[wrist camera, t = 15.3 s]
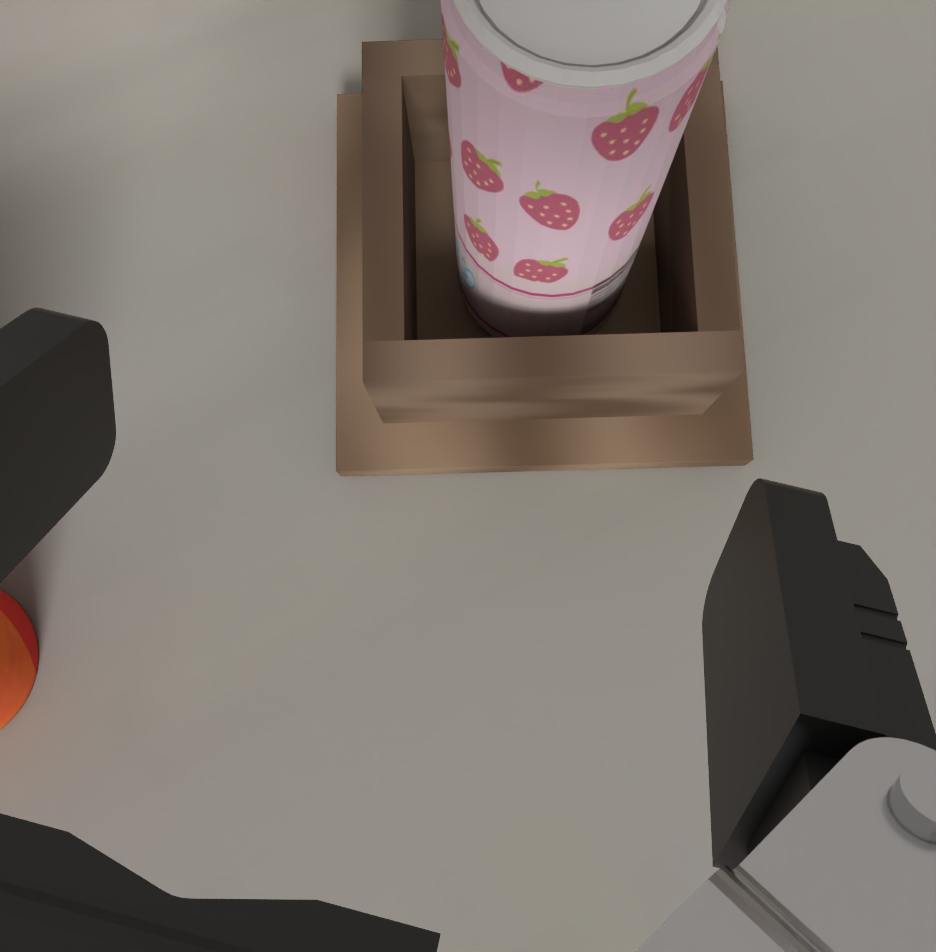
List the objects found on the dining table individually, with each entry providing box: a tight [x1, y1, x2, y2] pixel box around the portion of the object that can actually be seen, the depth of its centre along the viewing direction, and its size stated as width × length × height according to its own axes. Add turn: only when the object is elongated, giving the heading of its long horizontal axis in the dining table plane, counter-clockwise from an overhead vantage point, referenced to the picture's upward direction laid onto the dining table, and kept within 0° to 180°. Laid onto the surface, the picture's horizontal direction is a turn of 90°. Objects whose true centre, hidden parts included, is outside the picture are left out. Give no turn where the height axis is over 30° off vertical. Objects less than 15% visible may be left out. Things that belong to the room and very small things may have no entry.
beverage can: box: [441, 0, 730, 338], centre depth 24 cm, size 6×6×15 cm
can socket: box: [336, 39, 753, 476], centre depth 29 cm, size 14×14×6 cm
